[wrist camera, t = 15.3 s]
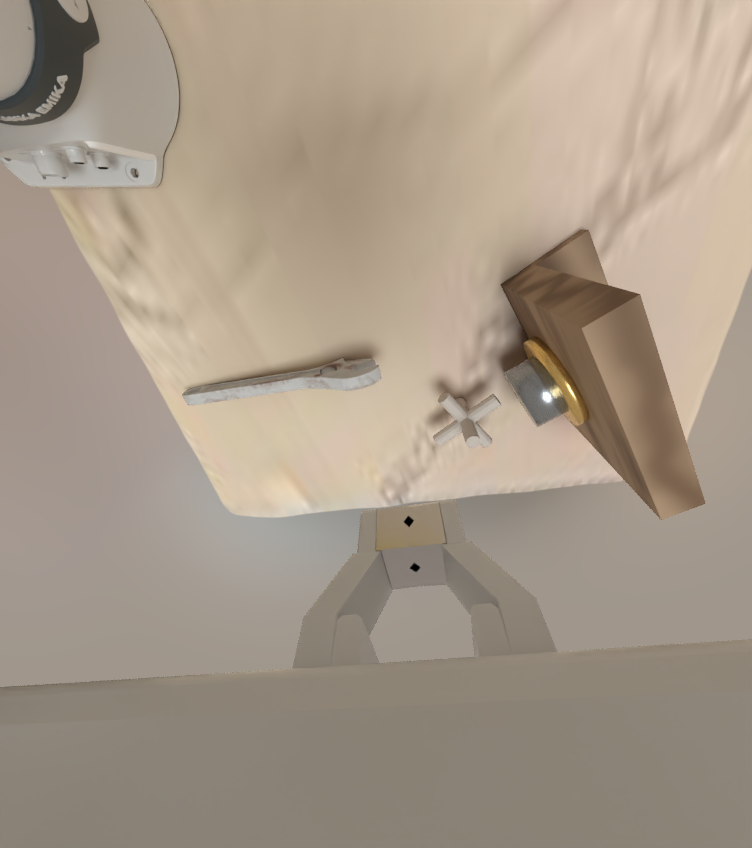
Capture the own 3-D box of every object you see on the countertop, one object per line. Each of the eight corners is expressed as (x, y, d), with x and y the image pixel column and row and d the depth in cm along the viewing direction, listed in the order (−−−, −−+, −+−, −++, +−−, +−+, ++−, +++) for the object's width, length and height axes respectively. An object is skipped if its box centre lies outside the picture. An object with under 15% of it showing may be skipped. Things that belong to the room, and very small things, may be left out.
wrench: (200, 379, 52) (384, 349, 45) (205, 390, 53) (386, 362, 46) (166, 404, 46) (375, 373, 39) (172, 415, 47) (379, 387, 40)
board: (569, 420, 51) (661, 519, 34) (500, 284, 41) (581, 328, 24) (638, 385, 48) (778, 476, 31) (581, 229, 38) (741, 235, 21)
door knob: (523, 410, 50) (558, 459, 39) (486, 347, 45) (516, 383, 35) (556, 393, 48) (602, 438, 38) (522, 325, 43) (564, 357, 33)
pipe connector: (412, 401, 50) (416, 440, 42) (467, 358, 46) (483, 391, 38) (453, 441, 54) (464, 483, 45) (506, 404, 50) (530, 444, 41)
